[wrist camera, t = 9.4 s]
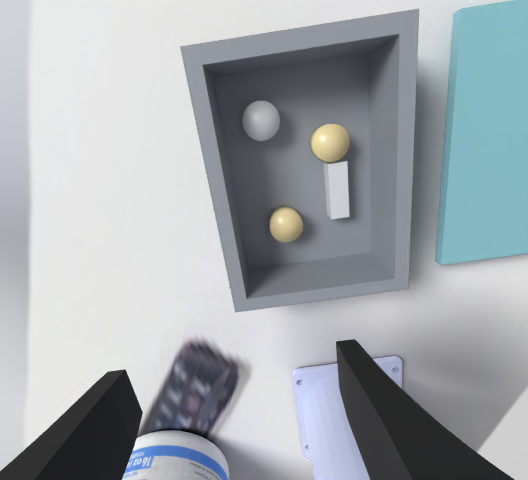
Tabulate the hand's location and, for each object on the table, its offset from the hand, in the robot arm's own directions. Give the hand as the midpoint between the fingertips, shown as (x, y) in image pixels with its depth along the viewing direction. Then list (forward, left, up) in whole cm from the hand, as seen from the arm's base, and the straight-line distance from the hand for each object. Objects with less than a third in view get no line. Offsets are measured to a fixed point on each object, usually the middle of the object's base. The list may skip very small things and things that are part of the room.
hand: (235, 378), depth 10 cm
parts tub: (+5, -4, -9) cm, 11 cm away
